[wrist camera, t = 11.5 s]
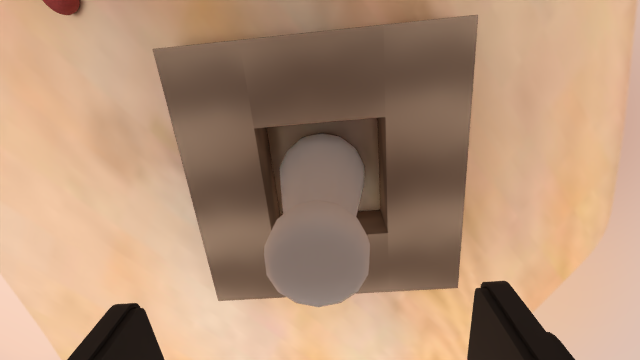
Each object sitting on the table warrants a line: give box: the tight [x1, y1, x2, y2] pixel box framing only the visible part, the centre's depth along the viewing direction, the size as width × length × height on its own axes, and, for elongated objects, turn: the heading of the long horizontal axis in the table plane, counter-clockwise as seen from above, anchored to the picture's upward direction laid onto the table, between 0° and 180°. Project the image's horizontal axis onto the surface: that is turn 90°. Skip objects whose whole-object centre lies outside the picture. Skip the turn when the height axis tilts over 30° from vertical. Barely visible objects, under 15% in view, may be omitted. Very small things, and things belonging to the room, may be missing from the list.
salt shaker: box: [264, 133, 370, 307], centre depth 18 cm, size 6×6×13 cm
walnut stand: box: [153, 15, 478, 301], centre depth 23 cm, size 18×18×4 cm
